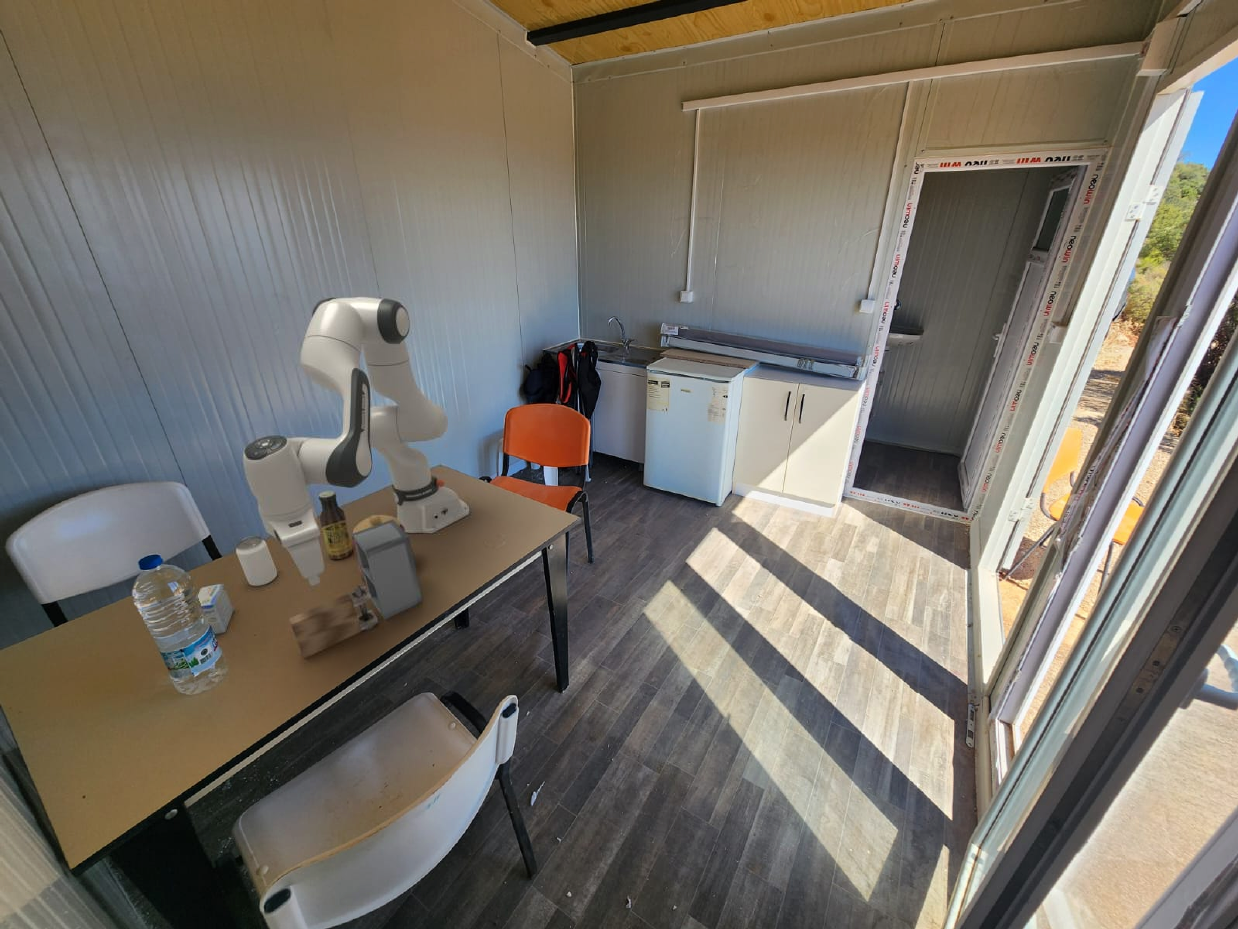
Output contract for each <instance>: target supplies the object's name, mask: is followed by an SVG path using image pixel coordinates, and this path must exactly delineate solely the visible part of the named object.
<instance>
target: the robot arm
mask: <svg viewBox="0 0 1238 929" xmlns="http://www.w3.org/2000/svg"><path fill="white" fill-rule="evenodd" d="M410 324H411V323H410V316H409V313H408V310H407V309H406V307H404V305H403V304H402V303H401V302H399V301H397V300H394V299H391V298H390V299H389V298H383V299H382V298H377V297H368V296H357V297H339V298H336V297H328V298H323V299H320V300H319V301H318V302H317V303H316V304H315V306H314V307H313V308H312V312H311V320H310V322H309V324H308V326H307V330H306V332H305V335H304V338H303V342H302V343H303V344H302V347H301V349H300V355H299V356H300V357H299V358H300V365H301V368H302V370H303V371H304V373H305V374H306V376H307V377H308V378H309V379H310V380H311V381H313V382H314V383H316V384H318V385H319V386H320V387H323V388H324V389H327V390H329V391H331V392H334V393H336V394H338V395H341V398H342V400H343V407H342V408H343V410H342V412H343V413H342V414H343V415H342V431H341V432H342V433H341V435H340V436H338V437H337V438H323V437H322V438H317V437H307V436H306V437H303V436H301V437H300V436H299V437H297V436H296V437H285V436H283V435H279V434H278V435H275V434H274V435H267V436H263V437H261V438H257V439H256V440H253V441H252V442H250V443H248V444H247V446H246V447H245V448H244V449H243V454H242V461H243V462H242V463H243V468H244V474H245V477H246V480H247V482H248V485H249V488H250V491H251V493H252V494H253V496H254V497H255V498H256V500H257V510H258V512H259V516H260V518H261V521H262V524H263V526H264V529H265V532H266V533H267V534H269V535H270V536H272V537H273V538H275V539H276V540H277V541H278V542H279V543H280V545H281V546H282V548H285V549H286V550H287V551H288V552H289V554H290V556H291V558H292V560H293V562H294V563H295V565H296V567H297V569H298V571H299V572H300V574H301V576H302V578H303V579H307V580H308V583H309V585H310V586H315V585H318V584H320V582H321V579H320V576H319V575H320V574H322V573H324V571H325V562H324V558H323V552H322V548H321V543H320V540H319V537H320V536H321V534H322V533H321V531H320V527H319V523H318V516H317V512H316V508H315V506H314V502H313V499H312V496H311V494H310V492H309V491H308V490H307V488H308V487H309V486H310V485H321V486H323V485H324V486H334V487H339V488H340V487H341V488H348V489H353V488H355V487H357V486H359V485H360V484H362V483H363V482H364V481H365V480H366V479H367V478H368V477H369V476H370V474H371V472H372V470H373V454H372V449H374V450H375V451H376V452H377V453H378V454H380V456H381V457H382V458H383V459H384V460H385V462H386V464H387V466H388V469H389V473H390V476H391V481H392V486H391V487H392V493H393V498H394V502H395V503H396V510H397V512H396V513H397V515H396V516H397V517H396V518H397V519H398V520H399V522H400V524H402V525H403V526H404V528H405V533H409V534H416V533H418V534H419V533H423V534H434V533H436V532H438V531H439V530H442V529H443V528H445V527H447V526H449V525H451V524H453V523H454V522H457V521H459V520H460V519H463V518H465V517H466V516H468V515H470V508H469V505H468V504H467V503H466V502H464V501H463V500H462V499H460V497H459V496H458V494H457V493H456V492H455V491H453V490H452V489H450V488H448V487H446V486H444V485H445V482H444V481H443V480H442V479H438V478H437V476H435V475H432V474H431V469H430V463H429V458H428V456H427V455H426V454H425V453H424V452H422V451H420V450H419V449H415V448H414V447H411V446H409V445H408V444H407V443H418V442H428V441H431V440H436V439H440V438H442V437H443V436H444V435H445V434H446V432H447V430H448V427H449V426H448V425H449V420H448V416H447V414H446V412H445V411H444V408H442V407H441V406H439V405H437V404H436V403H434V402H433V401H431V400H430V399H429V398H428V397H427V396H425V395H424V394H423V392H422V391H421V390H420V389H419V387H418V384H416V380H415V376H414V372H413V369H412V365H411V360H410V356H409V350H408V347H407V343H406V340H405V339H406V338H407V336H408V335H409V332H410V326H411V325H410ZM362 349H363V350H362ZM362 351H363V356H364V360H365V361H364V362H365V366H366V369H367V370H366V371H367V374H368V375H367V374H366V372H364V371H363V370H362V369H361V367H360V356H361V354H362ZM371 388H372V389H373V390H374V392H375V393H377V395H380V396H382V397H384V398H386V399H389V400H391V401H393V402H394V403H395V405H382V406H381V405H379V406H377V405H376V406H372V407H371Z"/></svg>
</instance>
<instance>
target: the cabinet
mask: <svg viewBox="0 0 1238 929" xmlns="http://www.w3.org/2000/svg"><path fill="white" fill-rule="evenodd" d="M352 537H353V538H354V541H355V545H356V549H357V552H358V556H359V560H360V563H361V567H362V571H363V574H364V578H365V580H364V581H365V584H366V588H367V590H368V591H369V593H370V594H371V597H372V600H370V601H371V602H372V604H373V606H374V607H375V608H376V610H377V611H378V612H379V614H380V616H381V617H382V619H383V620H385V621H386V620H388V619H389V618H391V617H394V616H396V615H398V614H400V613H402V612H404V611H407V610H409V609H411V608H413V607H415V606H417V605H419V604H421V603H423V596H422V591H421V587H420V582H419V578H418V573H417V569H416V568H417V567H416V563H415V558H414V553H413V549H412V544H411V539H410V536H409V535H408V534H407V532H404V531H403V530H402V528H401V527H400V526H399V525H398V524H397V523H396V522H395V521H394V520H393V519H392V520H390V521H387V522H384V523H381V524H378V525H376V526H373V527H370V528H367V529H364V530H361V531H359V532H356V533H353V532H352Z"/></svg>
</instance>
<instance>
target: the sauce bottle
mask: <svg viewBox="0 0 1238 929" xmlns="http://www.w3.org/2000/svg"><path fill="white" fill-rule="evenodd" d="M318 500H319V501H320V504H321V509H322V510H321V513H320V516H319V519H320V520H319V521H320V525H321V526H320V527H321V531H322V534H323V538H324V542H325V546H326V550H327V554H328V556H329V558H330V559H332V560H342V559H344V558H347V557H349V556H350V555H351V554H352V552H353V544H352V538H351V536H350V531H349V527H348V522H347V519H346V515H345V511H344V510H343V509H342V508H341V507H340V506H339V504H338V501H337V493H336V492H335V491H333V490H326V491H321V492H320V493H319V494H318Z"/></svg>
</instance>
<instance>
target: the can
mask: <svg viewBox="0 0 1238 929" xmlns="http://www.w3.org/2000/svg"><path fill="white" fill-rule="evenodd" d="M235 545H236V546H235V547H236V550H235V552H236V555H237V558H238V560H239V563H240V565H241V569H242V570H243V573H244V575H245V577H246V580H247V582H248V584H249V585H250V586H253V587H260V586H261V587H262V586H265V585H267V584H270V583H271V582H273V581H274V580H275V579H276V577H277V576H278V572H277V569H276V566H275V564H274V563H275V562H274V560H273V558H272V555H271V553H270V549H269V547H268V545H267V543H266V541H265V540H264V539H263V537H261V536H259V535H253V536H248V537H245V538H243V539H241V540H240V541H238V542H237V543H236V544H235Z"/></svg>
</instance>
